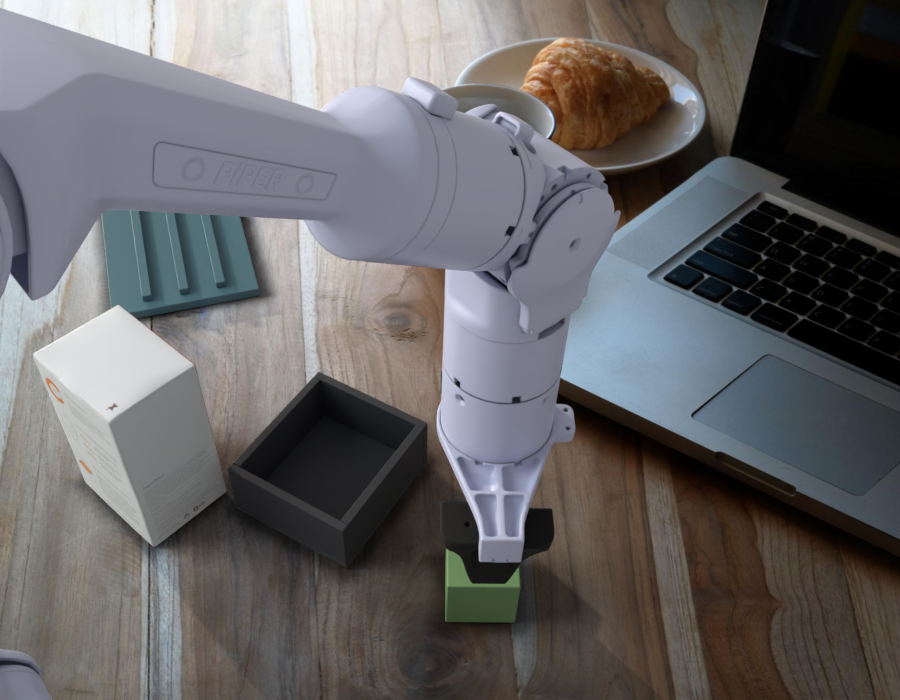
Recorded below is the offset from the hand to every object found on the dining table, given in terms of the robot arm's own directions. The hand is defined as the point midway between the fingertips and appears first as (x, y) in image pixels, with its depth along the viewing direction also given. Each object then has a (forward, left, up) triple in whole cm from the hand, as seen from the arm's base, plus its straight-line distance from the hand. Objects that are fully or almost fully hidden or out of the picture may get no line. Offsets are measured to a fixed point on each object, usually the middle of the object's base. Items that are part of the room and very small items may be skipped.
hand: (486, 519), depth 54 cm
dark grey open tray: (+2, +13, -8) cm, 15 cm away
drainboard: (+17, +41, -8) cm, 45 cm away
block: (0, 0, -8) cm, 8 cm away
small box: (-5, +23, -8) cm, 25 cm away
